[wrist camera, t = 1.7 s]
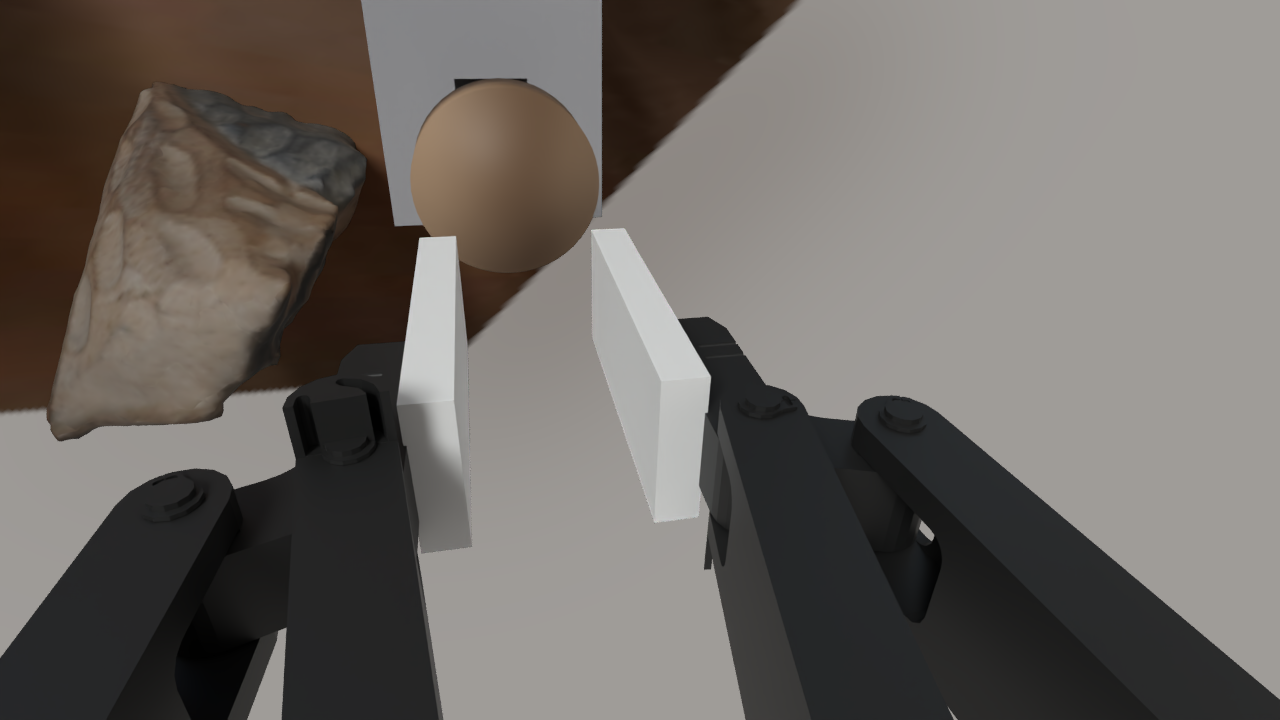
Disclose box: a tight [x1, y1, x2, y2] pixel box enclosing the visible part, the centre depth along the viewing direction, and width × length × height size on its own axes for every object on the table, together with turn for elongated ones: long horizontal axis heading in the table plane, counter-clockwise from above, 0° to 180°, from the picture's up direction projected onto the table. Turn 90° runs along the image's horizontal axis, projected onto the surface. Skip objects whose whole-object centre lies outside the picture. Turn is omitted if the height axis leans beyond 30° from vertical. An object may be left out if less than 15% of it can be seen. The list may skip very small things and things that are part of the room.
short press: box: [361, 0, 602, 226], centre depth 39 cm, size 10×10×15 cm
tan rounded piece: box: [410, 78, 599, 273], centre depth 30 cm, size 7×7×16 cm
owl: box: [47, 82, 367, 441], centre depth 38 cm, size 13×13×20 cm
